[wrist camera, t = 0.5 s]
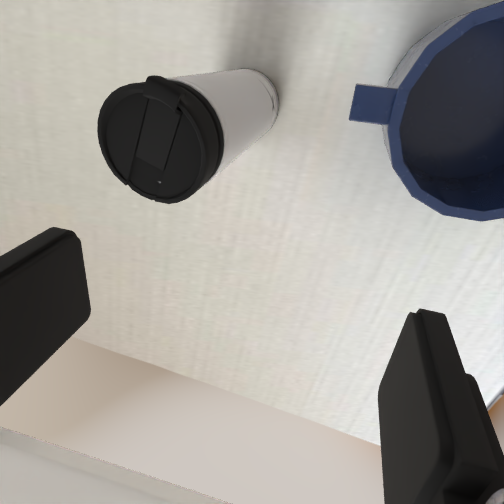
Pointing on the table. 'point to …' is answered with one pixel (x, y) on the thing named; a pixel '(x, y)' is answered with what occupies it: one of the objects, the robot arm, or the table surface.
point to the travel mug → (183, 129)
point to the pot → (447, 116)
